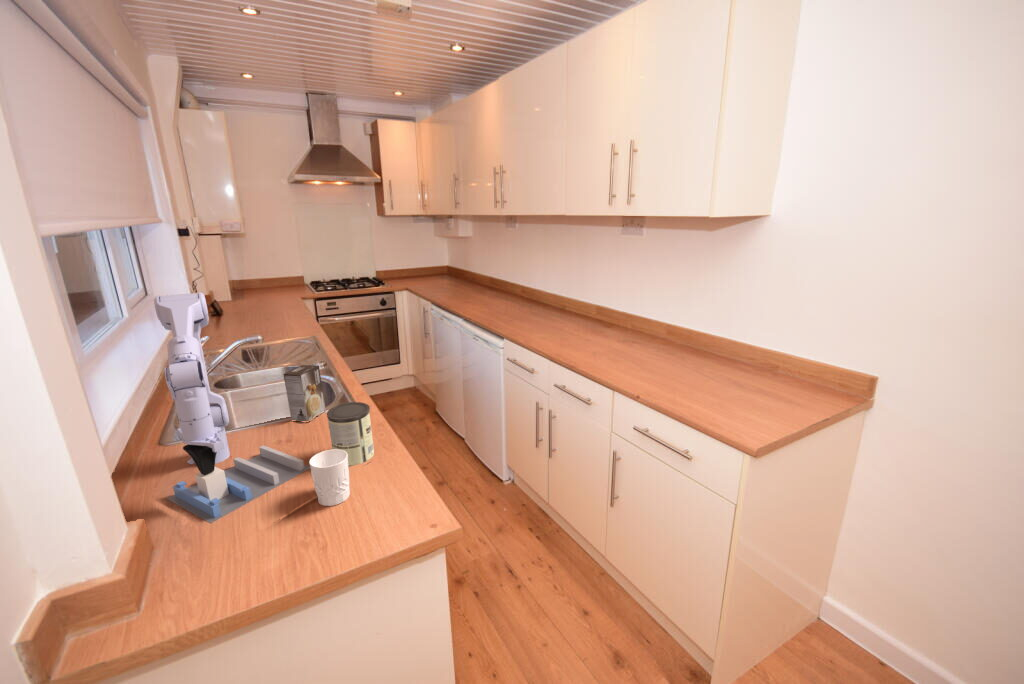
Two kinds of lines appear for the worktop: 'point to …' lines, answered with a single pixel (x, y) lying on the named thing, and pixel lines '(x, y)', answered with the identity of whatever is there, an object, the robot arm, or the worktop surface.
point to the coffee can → (352, 431)
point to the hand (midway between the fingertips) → (207, 472)
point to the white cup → (330, 476)
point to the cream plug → (212, 484)
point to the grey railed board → (241, 483)
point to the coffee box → (304, 392)
